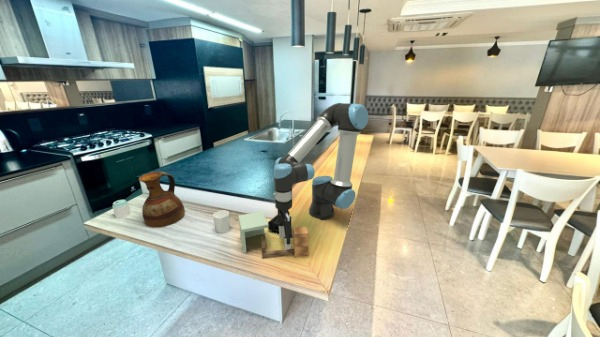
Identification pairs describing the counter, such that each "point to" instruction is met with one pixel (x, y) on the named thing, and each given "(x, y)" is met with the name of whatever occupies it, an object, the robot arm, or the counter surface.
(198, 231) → the counter surface
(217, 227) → the white cup
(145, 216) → the ceramic pitcher
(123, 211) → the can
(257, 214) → the cubby shelf
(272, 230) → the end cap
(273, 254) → the wooden desk organizer
